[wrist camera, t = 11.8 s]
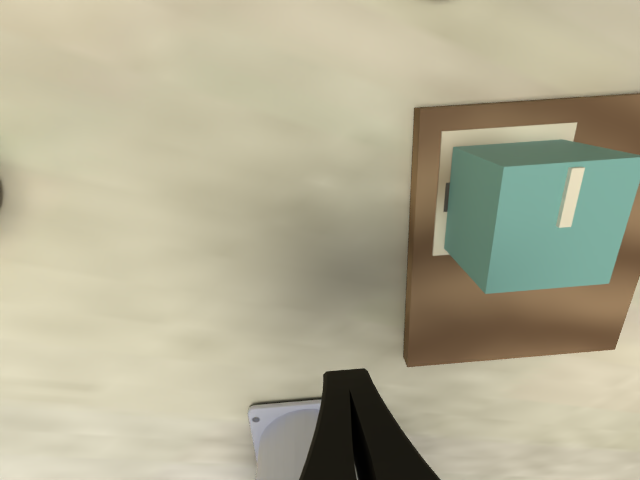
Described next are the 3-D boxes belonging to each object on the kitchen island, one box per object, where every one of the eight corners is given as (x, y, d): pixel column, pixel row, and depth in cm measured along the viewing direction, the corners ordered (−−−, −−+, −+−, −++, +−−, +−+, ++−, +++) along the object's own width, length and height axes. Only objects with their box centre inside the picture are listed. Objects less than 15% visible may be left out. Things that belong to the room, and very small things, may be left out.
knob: (541, 240, 20) (612, 285, 16) (444, 248, 20) (487, 296, 16) (562, 139, 18) (651, 157, 14) (452, 146, 18) (506, 168, 13)
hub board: (603, 339, 25) (660, 387, 21) (403, 356, 25) (423, 408, 21) (682, 90, 19) (785, 92, 15) (414, 107, 18) (446, 114, 14)
